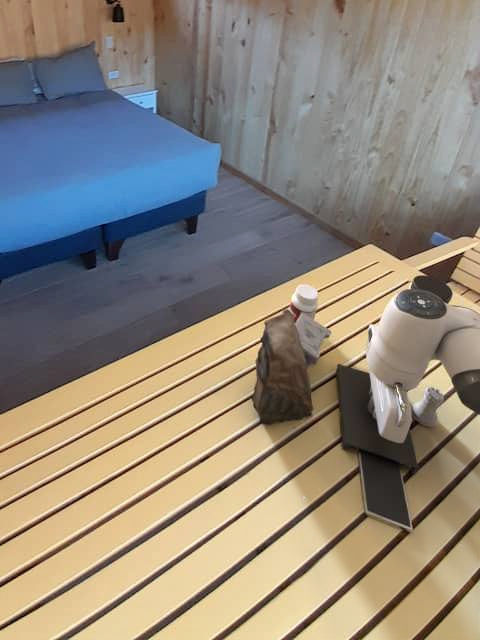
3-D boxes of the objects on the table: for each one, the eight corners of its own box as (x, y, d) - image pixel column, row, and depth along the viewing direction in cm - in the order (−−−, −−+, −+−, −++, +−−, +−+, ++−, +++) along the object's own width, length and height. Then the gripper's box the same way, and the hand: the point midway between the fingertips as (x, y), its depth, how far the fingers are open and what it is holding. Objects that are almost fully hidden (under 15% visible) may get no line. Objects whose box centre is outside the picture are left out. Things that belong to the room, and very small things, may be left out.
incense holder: (309, 387, 90) (319, 356, 85) (273, 365, 95) (280, 334, 90) (323, 357, 96) (333, 327, 91) (289, 338, 101) (296, 309, 96)
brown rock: (258, 429, 82) (273, 365, 73) (232, 373, 93) (242, 311, 84) (314, 418, 84) (336, 354, 75) (282, 364, 95) (298, 303, 86)
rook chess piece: (426, 431, 81) (440, 407, 77) (405, 411, 85) (417, 387, 81) (440, 422, 82) (454, 398, 79) (418, 402, 86) (431, 379, 83)
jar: (408, 332, 102) (424, 298, 97) (391, 307, 109) (404, 274, 104) (445, 334, 101) (463, 299, 96) (425, 308, 109) (441, 275, 103)
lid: (395, 388, 89) (403, 371, 86) (414, 475, 74) (424, 457, 72) (335, 370, 93) (341, 353, 90) (342, 449, 78) (349, 432, 76)
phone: (394, 443, 79) (395, 440, 79) (411, 533, 67) (413, 531, 66) (354, 429, 82) (355, 427, 81) (364, 514, 69) (365, 512, 69)
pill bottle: (283, 314, 108) (290, 282, 103) (305, 313, 108) (314, 282, 103) (291, 333, 103) (299, 300, 98) (315, 333, 103) (325, 300, 97)
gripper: (428, 421, 66) (403, 466, 73) (403, 326, 83) (384, 370, 89) (385, 407, 68) (364, 452, 75) (368, 318, 85) (352, 361, 92)
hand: (375, 407), depth 82 cm, fingers closed on lid, 2 cm apart
